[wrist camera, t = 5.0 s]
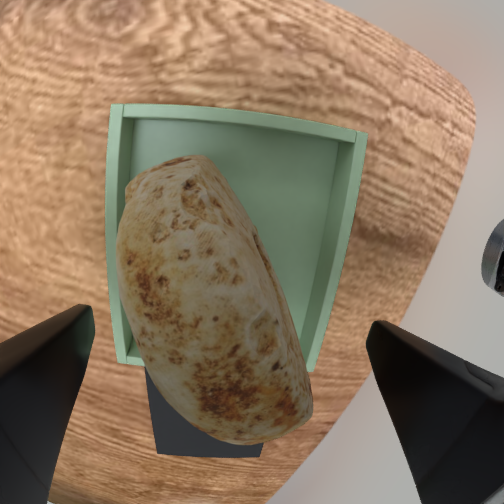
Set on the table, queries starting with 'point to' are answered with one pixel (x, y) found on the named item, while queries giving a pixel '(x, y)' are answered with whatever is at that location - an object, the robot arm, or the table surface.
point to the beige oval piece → (209, 305)
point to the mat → (188, 433)
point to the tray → (250, 196)
